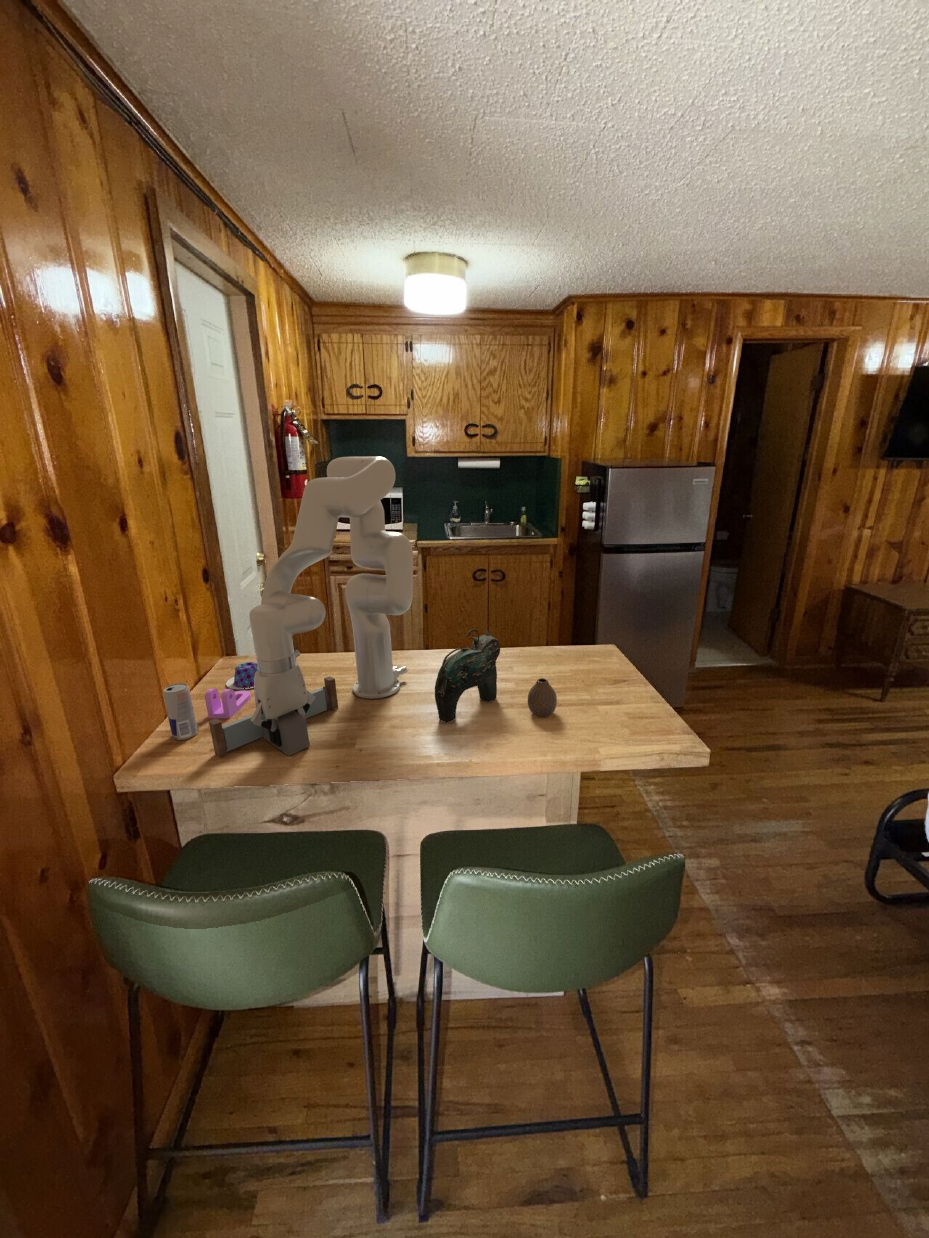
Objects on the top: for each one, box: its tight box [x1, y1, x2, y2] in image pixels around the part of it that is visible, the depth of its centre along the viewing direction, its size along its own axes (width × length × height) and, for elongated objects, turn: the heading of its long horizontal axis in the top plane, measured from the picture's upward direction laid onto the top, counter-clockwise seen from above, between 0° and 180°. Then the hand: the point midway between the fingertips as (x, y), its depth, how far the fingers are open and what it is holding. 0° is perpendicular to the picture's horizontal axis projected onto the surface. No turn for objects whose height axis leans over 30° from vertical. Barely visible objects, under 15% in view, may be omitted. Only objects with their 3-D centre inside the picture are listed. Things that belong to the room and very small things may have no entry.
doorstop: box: [262, 711, 311, 756], centre depth 119 cm, size 5×11×7 cm, turn 47°
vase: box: [527, 677, 558, 718], centre depth 128 cm, size 7×7×9 cm
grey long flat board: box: [222, 685, 330, 752], centre depth 125 cm, size 26×1×6 cm, turn 137°
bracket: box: [204, 688, 252, 719], centre depth 137 cm, size 13×6×7 cm, turn 175°
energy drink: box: [162, 682, 199, 741], centre depth 123 cm, size 5×5×12 cm
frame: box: [208, 675, 339, 759], centre depth 125 cm, size 30×2×8 cm, turn 137°
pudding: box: [225, 661, 259, 690], centre depth 152 cm, size 12×12×5 cm
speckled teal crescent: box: [434, 628, 501, 724], centre depth 130 cm, size 20×6×20 cm, turn 135°
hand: (288, 738), depth 118 cm, fingers closed on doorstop, 5 cm apart
